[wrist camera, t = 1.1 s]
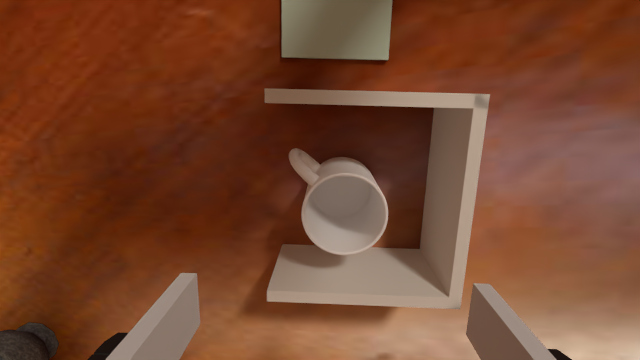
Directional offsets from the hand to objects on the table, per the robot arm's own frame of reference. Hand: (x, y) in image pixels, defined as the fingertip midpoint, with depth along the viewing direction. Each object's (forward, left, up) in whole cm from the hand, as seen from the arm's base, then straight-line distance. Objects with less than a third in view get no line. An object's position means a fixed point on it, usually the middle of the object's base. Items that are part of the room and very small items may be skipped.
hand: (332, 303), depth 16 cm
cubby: (0, +3, -26) cm, 26 cm away
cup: (0, 0, -26) cm, 26 cm away
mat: (-20, 0, -26) cm, 33 cm away
